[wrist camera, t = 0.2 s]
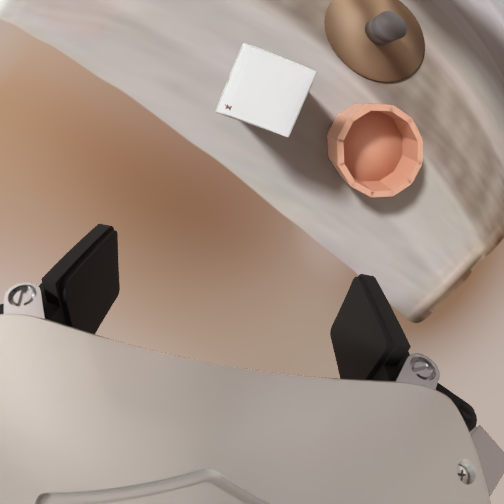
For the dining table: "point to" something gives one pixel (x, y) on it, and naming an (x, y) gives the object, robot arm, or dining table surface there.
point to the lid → (375, 37)
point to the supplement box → (265, 90)
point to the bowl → (375, 148)
